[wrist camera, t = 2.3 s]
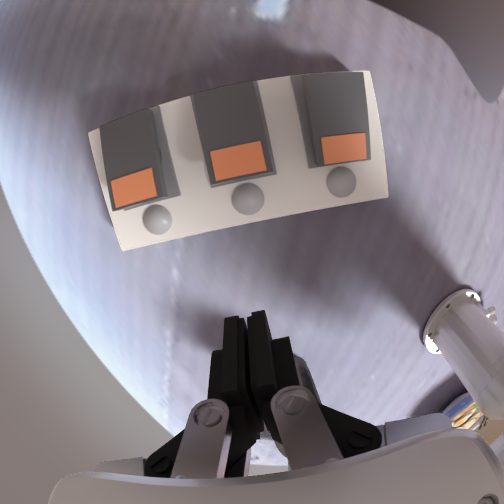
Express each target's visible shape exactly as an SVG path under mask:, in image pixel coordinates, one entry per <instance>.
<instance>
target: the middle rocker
mask: <svg viewBox="0 0 504 504" xmlns="http://www.w3.org/2000/svg"><path fill="white" fill-rule="evenodd" d="M193 98H194V103H195V109H196V114H197V119H198V125H199V130H200V135H201V140H202V145H203V150H204V155H205V160H206V165H207V170H208V175H209V180H210V184H211V185H218V184H222V183H226V182H231V181H236V180H240V179H245V178H250V177H255V176H260V175H265V174H270V173H273V167H272V163H271V158H270V153H269V149H268V144H267V140H266V135H265V131H264V127H263V122H262V118H261V114H260V109H259V105H258V101H257V97H256V93H255V89H254V85H253V81H248V82H242V83H237V84H232V85H228V86H223V87H219V88H215V89H210V90H206V91H202V92H199V93H195V94H193Z"/></svg>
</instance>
